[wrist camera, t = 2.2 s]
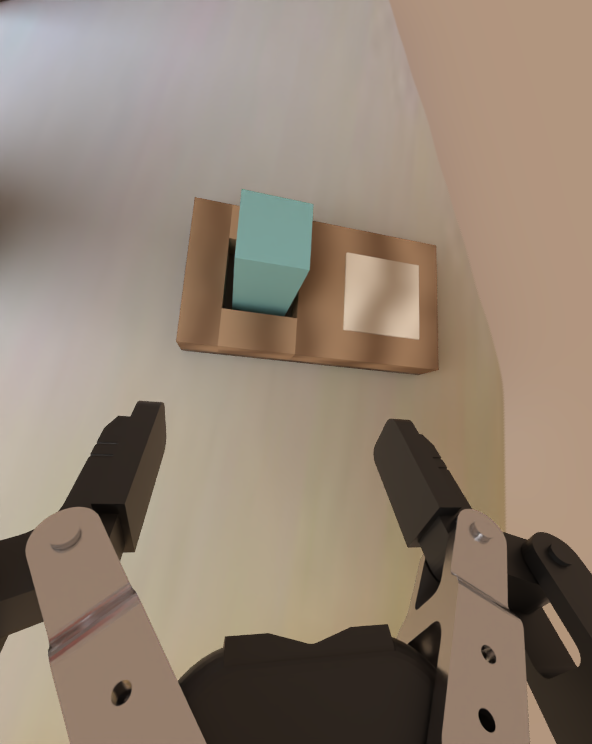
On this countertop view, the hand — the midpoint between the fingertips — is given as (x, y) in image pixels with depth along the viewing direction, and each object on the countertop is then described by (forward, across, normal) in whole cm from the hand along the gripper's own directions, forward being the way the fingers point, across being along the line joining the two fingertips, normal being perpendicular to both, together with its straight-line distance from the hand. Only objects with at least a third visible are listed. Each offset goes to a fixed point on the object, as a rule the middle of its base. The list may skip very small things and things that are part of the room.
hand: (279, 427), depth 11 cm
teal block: (+19, 0, +2) cm, 19 cm away
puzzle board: (+19, -5, +2) cm, 20 cm away
